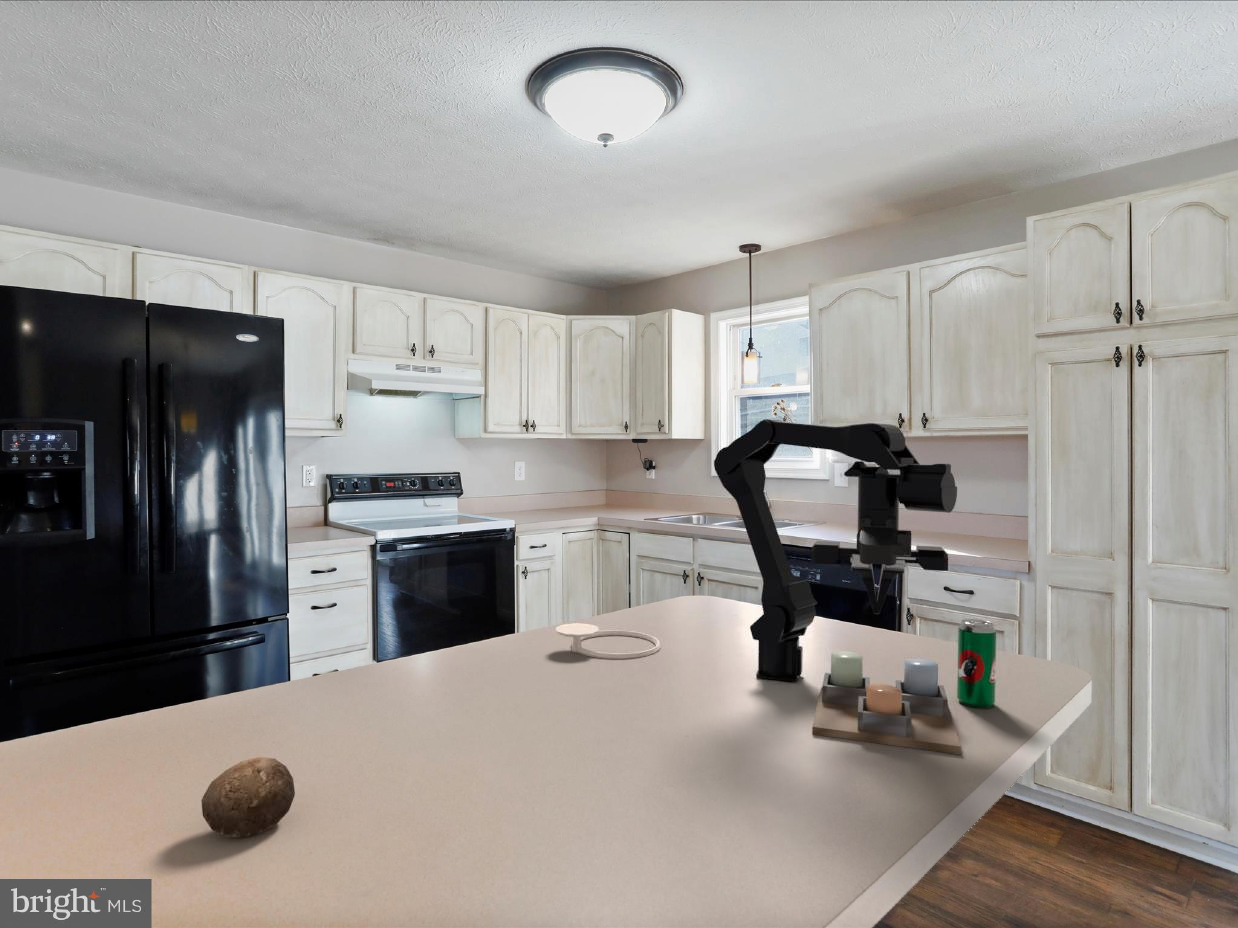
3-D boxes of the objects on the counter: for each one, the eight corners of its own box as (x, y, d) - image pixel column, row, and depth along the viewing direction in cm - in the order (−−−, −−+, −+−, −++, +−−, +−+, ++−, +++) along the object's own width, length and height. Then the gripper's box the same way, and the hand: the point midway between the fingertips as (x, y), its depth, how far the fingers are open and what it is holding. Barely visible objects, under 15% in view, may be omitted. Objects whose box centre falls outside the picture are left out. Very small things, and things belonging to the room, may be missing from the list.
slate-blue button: (904, 694, 100) (905, 665, 99) (903, 684, 104) (903, 656, 104) (938, 697, 98) (939, 669, 98) (936, 688, 102) (936, 660, 102)
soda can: (999, 710, 102) (1001, 627, 102) (961, 707, 103) (963, 625, 103) (989, 698, 107) (990, 619, 107) (952, 695, 108) (954, 617, 108)
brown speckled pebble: (231, 768, 75) (237, 732, 72) (303, 794, 76) (313, 760, 73) (181, 840, 68) (186, 804, 65) (262, 868, 69) (270, 834, 66)
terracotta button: (865, 723, 93) (866, 692, 93) (866, 711, 97) (866, 682, 97) (902, 728, 91) (902, 696, 91) (901, 716, 95) (901, 686, 95)
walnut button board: (812, 734, 93) (812, 708, 93) (820, 693, 109) (821, 671, 109) (960, 754, 87) (961, 726, 87) (947, 708, 103) (947, 685, 103)
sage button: (829, 685, 103) (830, 658, 103) (831, 676, 107) (831, 650, 107) (862, 689, 101) (862, 661, 101) (862, 679, 106) (862, 653, 105)
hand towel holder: (678, 631, 130) (573, 643, 122) (677, 654, 131) (573, 668, 122) (636, 610, 146) (540, 620, 137) (635, 632, 146) (540, 642, 137)
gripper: (808, 510, 101) (807, 619, 101) (953, 515, 95) (951, 631, 95) (814, 504, 112) (813, 604, 112) (945, 508, 105) (943, 614, 106)
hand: (876, 613), depth 106 cm, fingers closed
